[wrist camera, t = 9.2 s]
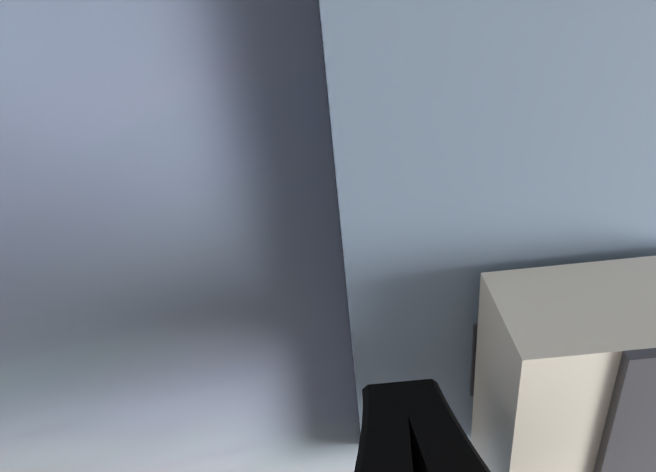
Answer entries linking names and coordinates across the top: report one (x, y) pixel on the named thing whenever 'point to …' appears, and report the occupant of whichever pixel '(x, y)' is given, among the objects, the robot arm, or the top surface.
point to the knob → (567, 368)
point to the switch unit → (480, 162)
